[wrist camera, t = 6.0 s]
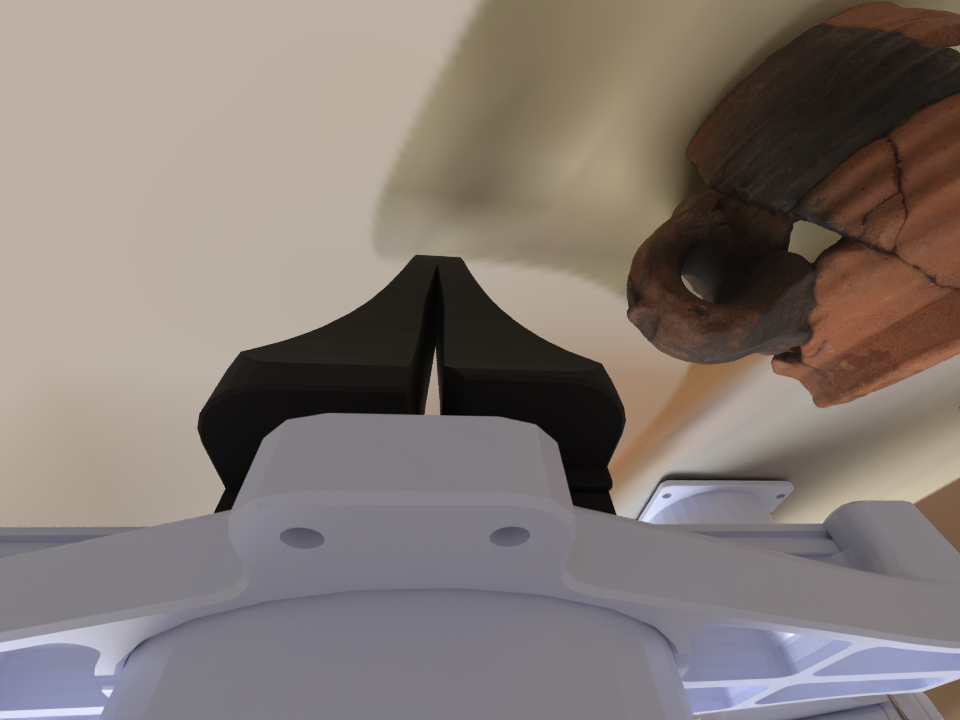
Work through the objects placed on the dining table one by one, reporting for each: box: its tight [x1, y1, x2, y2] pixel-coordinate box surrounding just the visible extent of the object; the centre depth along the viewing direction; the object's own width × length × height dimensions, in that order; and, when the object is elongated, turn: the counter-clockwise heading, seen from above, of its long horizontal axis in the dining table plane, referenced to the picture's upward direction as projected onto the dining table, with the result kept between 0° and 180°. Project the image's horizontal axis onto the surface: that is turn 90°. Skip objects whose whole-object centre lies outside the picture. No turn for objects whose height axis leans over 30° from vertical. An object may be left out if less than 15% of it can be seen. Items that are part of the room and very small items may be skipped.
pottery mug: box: [627, 2, 960, 408], centre depth 12 cm, size 12×10×8 cm
